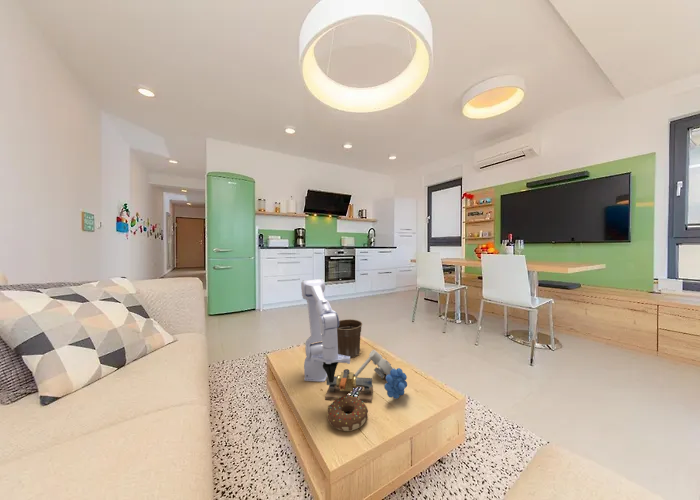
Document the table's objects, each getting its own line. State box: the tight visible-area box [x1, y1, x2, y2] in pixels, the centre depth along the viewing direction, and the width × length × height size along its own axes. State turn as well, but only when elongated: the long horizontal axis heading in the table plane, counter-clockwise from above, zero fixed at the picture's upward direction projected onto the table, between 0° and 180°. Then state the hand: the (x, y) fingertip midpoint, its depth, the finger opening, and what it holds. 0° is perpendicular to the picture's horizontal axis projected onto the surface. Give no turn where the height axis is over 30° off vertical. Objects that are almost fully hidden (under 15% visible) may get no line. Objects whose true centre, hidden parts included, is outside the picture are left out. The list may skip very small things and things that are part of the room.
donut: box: [326, 396, 369, 432], centre depth 86 cm, size 14×14×5 cm
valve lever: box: [339, 368, 350, 389], centre depth 96 cm, size 11×2×2 cm, turn 172°
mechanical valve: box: [354, 349, 397, 379], centre depth 110 cm, size 10×18×15 cm
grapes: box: [383, 368, 408, 400], centre depth 95 cm, size 12×7×12 cm, turn 126°
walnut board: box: [324, 384, 374, 403], centre depth 100 cm, size 18×9×1 cm, turn 82°
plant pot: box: [337, 319, 363, 359], centre depth 136 cm, size 16×16×16 cm
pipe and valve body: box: [325, 371, 373, 394], centre depth 100 cm, size 18×5×6 cm, turn 82°
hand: (331, 380), depth 94 cm, fingers closed
